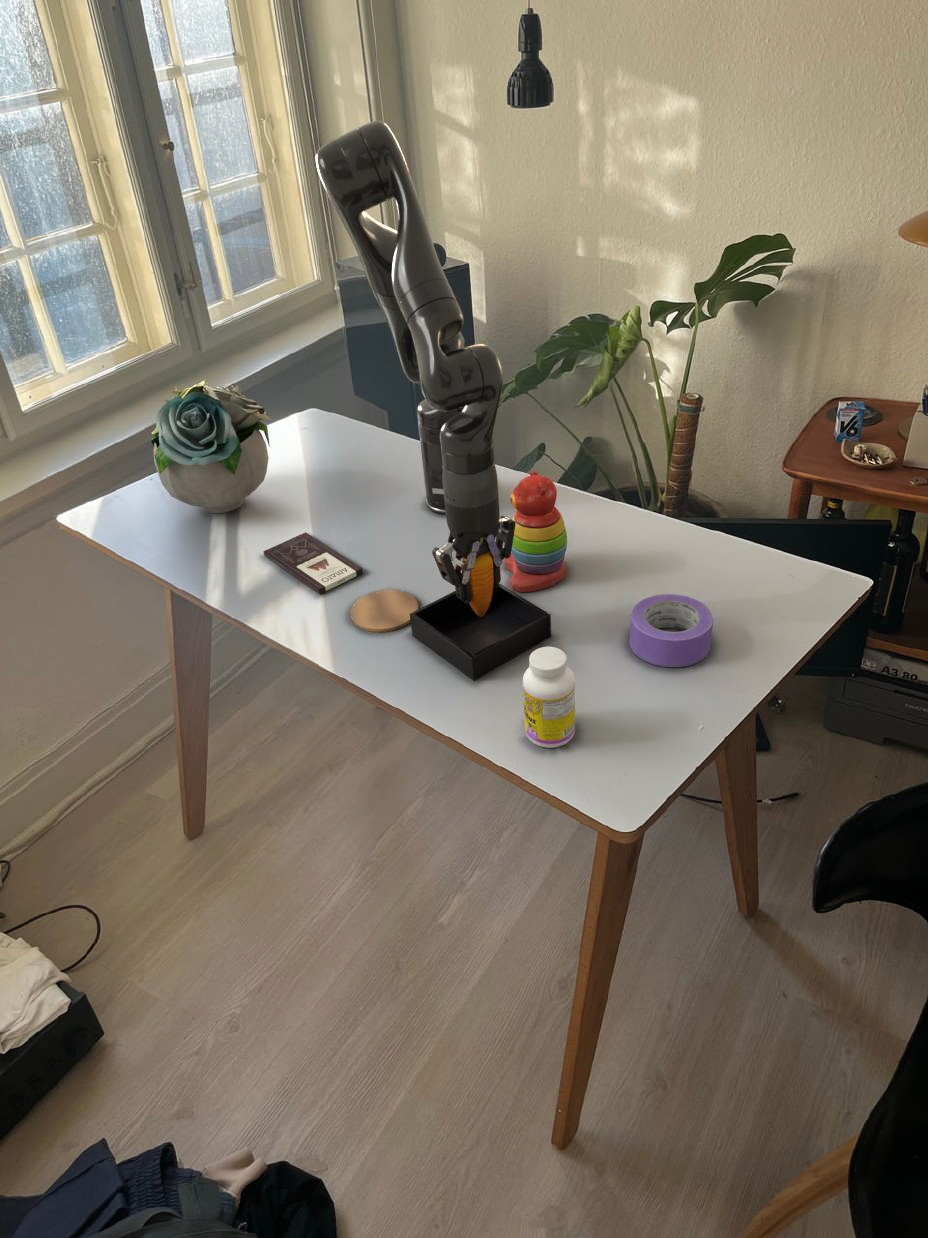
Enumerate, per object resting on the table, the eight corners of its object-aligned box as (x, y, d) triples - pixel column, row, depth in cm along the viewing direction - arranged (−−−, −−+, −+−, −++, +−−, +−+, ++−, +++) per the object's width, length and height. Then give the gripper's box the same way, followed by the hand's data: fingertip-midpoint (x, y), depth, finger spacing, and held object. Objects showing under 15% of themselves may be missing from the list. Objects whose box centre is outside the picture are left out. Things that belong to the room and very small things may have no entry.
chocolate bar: (305, 532, 169) (362, 568, 157) (306, 536, 169) (362, 572, 158) (263, 551, 164) (318, 589, 152) (264, 555, 165) (319, 594, 153)
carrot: (474, 630, 136) (466, 544, 127) (459, 613, 140) (450, 529, 131) (503, 619, 138) (497, 533, 129) (487, 603, 141) (480, 519, 132)
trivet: (393, 584, 154) (392, 582, 154) (432, 612, 147) (432, 608, 146) (337, 611, 149) (337, 608, 148) (375, 641, 142) (375, 638, 141)
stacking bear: (503, 559, 158) (497, 466, 147) (560, 552, 158) (559, 459, 148) (511, 594, 149) (506, 497, 139) (573, 587, 149) (572, 490, 139)
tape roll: (646, 612, 142) (648, 585, 139) (721, 631, 137) (724, 604, 134) (617, 655, 134) (618, 627, 131) (694, 677, 129) (697, 648, 126)
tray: (487, 596, 149) (485, 574, 147) (551, 636, 139) (550, 614, 137) (412, 635, 142) (409, 613, 139) (473, 681, 132) (471, 658, 129)
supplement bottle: (522, 719, 125) (518, 644, 117) (570, 713, 125) (569, 638, 117) (529, 753, 119) (525, 677, 112) (579, 747, 119) (579, 671, 112)
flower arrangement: (311, 488, 185) (289, 372, 171) (223, 547, 168) (190, 423, 154) (223, 466, 197) (195, 355, 182) (133, 519, 180) (94, 401, 166)
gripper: (446, 520, 120) (457, 624, 130) (527, 482, 127) (531, 583, 137) (413, 501, 125) (425, 602, 135) (492, 465, 132) (499, 564, 142)
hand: (479, 592), depth 136 cm, fingers closed on carrot, 4 cm apart
